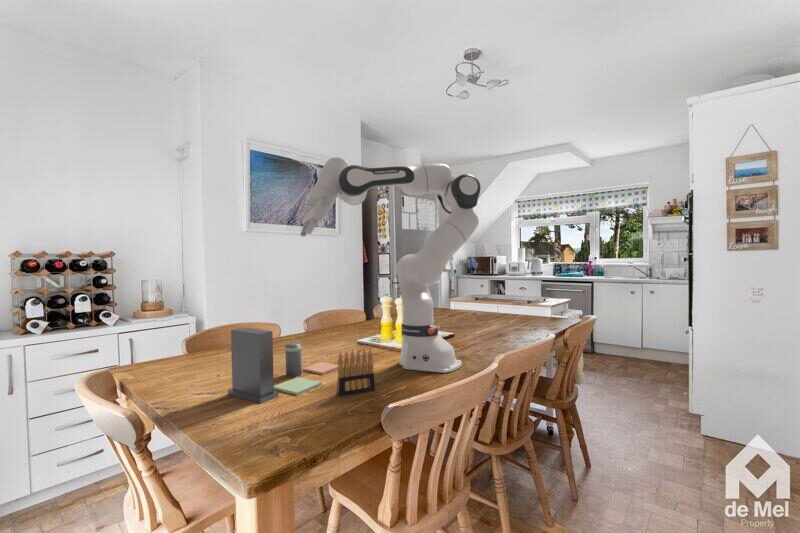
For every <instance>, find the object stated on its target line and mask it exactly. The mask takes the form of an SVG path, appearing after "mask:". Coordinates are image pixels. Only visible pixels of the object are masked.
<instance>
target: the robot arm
mask: <svg viewBox="0 0 800 533" xmlns="http://www.w3.org/2000/svg"><path fill="white" fill-rule="evenodd" d="M392 186H393V187H394V186H395V187H398V188H400V190H401V191H402V192H403V193H404V194H406V195H408V196H425V195H429V194H437V195H436V196H437V199H438V201H439V204H440V206H441V208H442V209H443V212H445V213H446V214H449V216H448V217H446V219H445V220H443V221H442V222H441V223H440V225H438V227H437V228H436V229H434V230H433V232H431V234H429V236H427V240H426V242H425V243H424V245H423V246H422V247H421V248H420V250H418V252H417V253H410V254H406V255H404V256H403V257H402V256H401V258H399V260H398V261H397V262H396V264H395V265H396V266H395V273H396V275H397V278H398V283H399V286H398V287H399V290H400V296H401V301H402V302H401V304H402V305H401V306H402V322H401V328H400V329H401V331H400V332H401V338H402V340H401V348H400V356H399V360H398V364H399V365H400V366H401V367H402V369H404V370H409V371H410V370H412V371H413V370H414V371H421V372H432V373H433V372H435V373H443V374H445V373H450V372H454V371H457V370H458V369H460V367H462V365H463V364H462V363H463V361H462V360H461V359H456V354H455V349H454V346H452V345H451V344H450V343H449V342H448V341H447V340H446V339H444V338H443V336H441V335H440V334H439V330H441V328H440V327H441V325H438V326H437V325H436V324H435V322H434V300H433V298H432V296H431V292H430V289H429V286H431V285H434V284H436V283H437V282H439V280H440V279H441V276H442V275H443V274H442V273H443V270H444V268H445V267H446V265H447V264H448V262H449V261H450V260H451V258H453V256H454V255H455V253H457V252H458V250H460V248H462V246H463V245H465V243H466V242H467V241H469V239H470V238H471V236H473V234H474V232H475V231H476V229H477V228H478V226H479V223H480V220H479V217H478V215H477V213H476V212H475V210H474V208H475V207H477V204H478V200H479V197H480V193H481V182H480V180H479V179H478V178H477V177H476V176H475V175H473V174H471V173H470V174H469V173H464V174H460V175H458V176H456V177H454V176H453V172H452V169H451V167H450V166H449V165H447V164H445V163H439V162H438V163H436V162H435V163H432V162H431V163H420V164H413V165H407V166H406V165H405V166H401V165H400V166H384V167H383V166H382V167H365V166H361V165H358V164H357V165H356V164H354V165H353V164H352V165H351V164H350V163H349V162H348V161H347V160H345V159H344V158H340V157H331V158H329V159H327V161H326V162H325V164H324V165H323V167H322V169H321V170H320V172H319V174H318V177H317V181H316V183H315V184H314V185H313V187H312V189H311V191H310V193H309V195H308V197H307V198H308V200H307V203H306V204H307V206H306V208H305V211H304V213H303V215H302V219H301V224H302V225H303V226H302V229H301V232H300V233H299V235H300V237H306V236H307V234H308V235H311V234H312V233H313V231H314V229H315V227H316V226H317V225H318V224H319V223H322V221H323V220H324V218H325V216H326V213H327V211H330V210H332V208H333V206H334V204H335V202H336V199H337V198H339V199H340V200H341V201H343V202H344V203H346V204H348V205H351V206H358V205H360V204H362V203H363V202H364V201H365V200H366V198H367V193H368V190H370V189H371V190H372V189H373V188H381V187H392Z"/></svg>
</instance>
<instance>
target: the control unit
mask: <svg viewBox="0 0 800 533" xmlns="http://www.w3.org/2000/svg"><path fill="white" fill-rule="evenodd" d="M273 336H274V335H273V330H265V329H259V328H258V329H257V328H250V327H241V328H236V329H231V330H230V344H231V345H230V347H231V349H230V351H231V380H232V381H231V382H232V384H231V385H232V386H231V388H229V389H227V395H229V394H230V395H229V396H233V395H234V396H233V397H236V396H237V397H238V398H240V397H241V398H240V399H243V398H244V399H243V400H247V399H248V401H250V400H251V402H254V401H255V402H254V403H257V402H258V403H257V404H262V403H265V402H267V401H270V400H272V399H276V398H278V397H279V396H280V395H279V394H280V391H277V390H274V386H275V385H274V384H275V383H274V345H273V343H274V342H273V341H274V340H273V339H274V338H273ZM237 397H236V398H237ZM275 397H276V398H275Z"/></svg>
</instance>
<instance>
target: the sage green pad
mask: <svg viewBox="0 0 800 533" xmlns="http://www.w3.org/2000/svg"><path fill="white" fill-rule="evenodd" d="M322 385H323V381H318V380H313V379H308V378H304V377H300V376H298V377H293V378H292V379H289V380H287V381H284V382H281V383H278V384H276V385H274V391H277V390H278V391H277V392H281V391H282V393H285V392H286V394H289V393H290V395H294V396H299V395H301V394H303V393H305V392H308V391H311V390H313V389H316V388H318V387H320V386H322Z"/></svg>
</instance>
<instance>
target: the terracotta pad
mask: <svg viewBox="0 0 800 533" xmlns="http://www.w3.org/2000/svg"><path fill="white" fill-rule="evenodd" d="M336 369H337V370H338V364H334V363H328V362H323V361H320V362H318V363H315V364H312V365H310V366H306V367H303V368H302V372H306V371H307V373H311V372H312V374H317V375H321V374H322V376H324V375H326V374H328V372H329V373H331V371H332V372H334V371H337V370H336ZM323 374H324V375H323Z"/></svg>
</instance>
